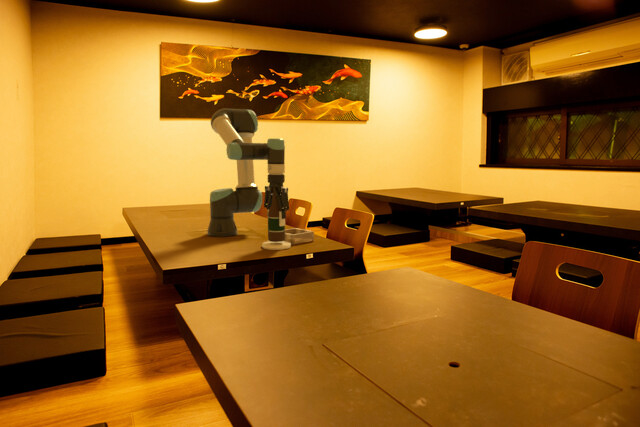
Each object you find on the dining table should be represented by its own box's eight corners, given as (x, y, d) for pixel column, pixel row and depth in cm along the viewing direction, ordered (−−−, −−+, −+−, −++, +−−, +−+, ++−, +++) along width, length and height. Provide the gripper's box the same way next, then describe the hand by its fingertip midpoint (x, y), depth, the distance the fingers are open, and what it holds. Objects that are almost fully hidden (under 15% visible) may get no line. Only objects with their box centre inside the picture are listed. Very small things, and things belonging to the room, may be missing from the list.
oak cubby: (274, 240, 213) (274, 231, 212) (295, 236, 222) (295, 227, 221) (292, 244, 203) (292, 235, 203) (313, 240, 213) (313, 231, 212)
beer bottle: (286, 238, 202) (286, 186, 198) (283, 242, 194) (283, 188, 191) (269, 238, 203) (269, 186, 199) (266, 241, 195) (265, 188, 191)
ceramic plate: (256, 246, 199) (256, 243, 199) (278, 242, 208) (278, 239, 208) (274, 251, 190) (274, 247, 189) (296, 246, 199) (296, 243, 198)
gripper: (255, 173, 199) (255, 222, 202) (284, 175, 184) (284, 228, 187) (268, 172, 204) (268, 221, 207) (297, 174, 189) (297, 226, 193)
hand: (276, 224), depth 197 cm, fingers closed on beer bottle, 8 cm apart
